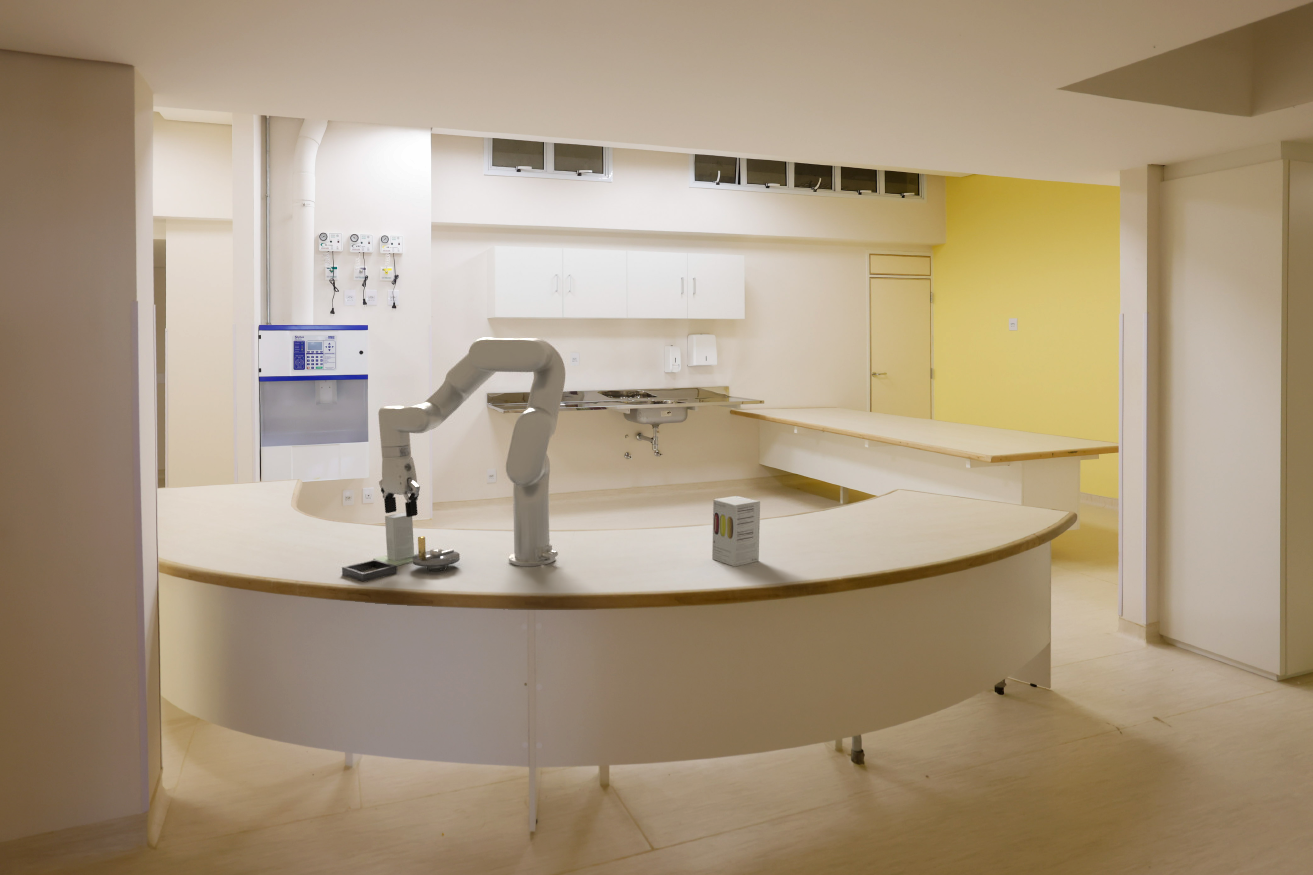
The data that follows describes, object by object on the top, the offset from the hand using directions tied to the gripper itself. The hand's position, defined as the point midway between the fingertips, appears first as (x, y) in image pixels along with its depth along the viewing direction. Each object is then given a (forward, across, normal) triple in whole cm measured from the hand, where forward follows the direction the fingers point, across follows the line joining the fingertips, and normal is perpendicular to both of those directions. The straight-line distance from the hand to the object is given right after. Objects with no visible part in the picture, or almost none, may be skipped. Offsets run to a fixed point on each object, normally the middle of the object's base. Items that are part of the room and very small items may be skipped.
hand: (401, 514), depth 224 cm
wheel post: (+13, -14, 0) cm, 19 cm away
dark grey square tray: (+12, -5, +14) cm, 19 cm away
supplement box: (+17, -71, -56) cm, 92 cm away
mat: (+13, +1, +1) cm, 13 cm away
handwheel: (+11, -14, 0) cm, 18 cm away
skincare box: (+12, +1, +1) cm, 12 cm away
